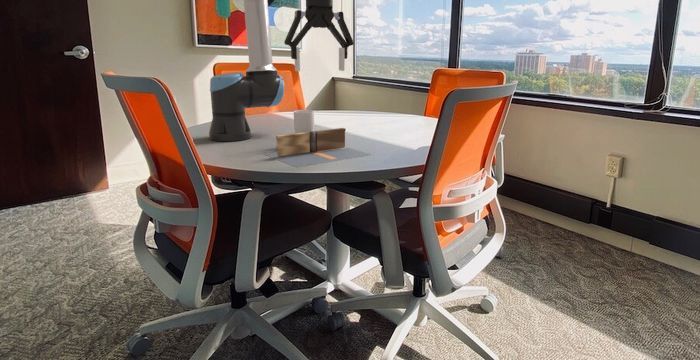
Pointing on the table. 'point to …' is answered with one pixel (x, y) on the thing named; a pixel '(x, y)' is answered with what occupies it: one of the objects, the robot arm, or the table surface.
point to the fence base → (327, 139)
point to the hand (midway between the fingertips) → (319, 70)
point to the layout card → (318, 156)
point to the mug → (303, 121)
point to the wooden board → (293, 143)
